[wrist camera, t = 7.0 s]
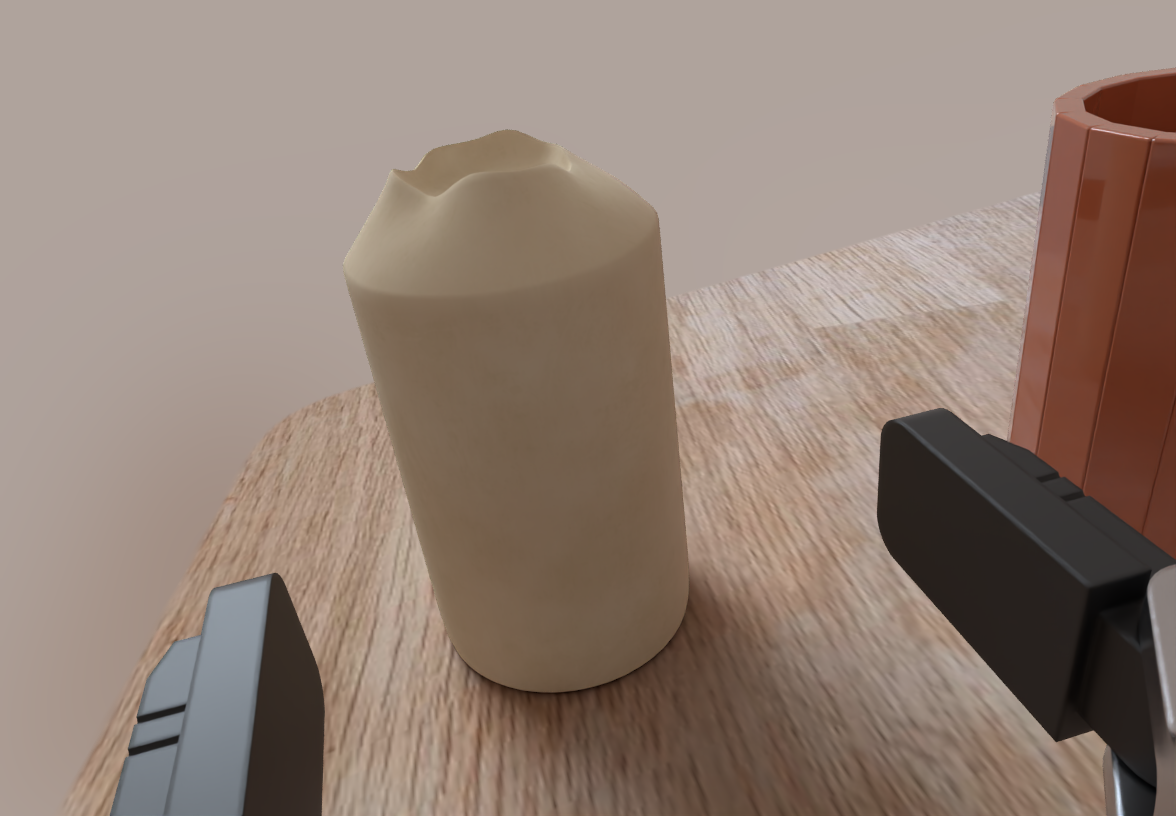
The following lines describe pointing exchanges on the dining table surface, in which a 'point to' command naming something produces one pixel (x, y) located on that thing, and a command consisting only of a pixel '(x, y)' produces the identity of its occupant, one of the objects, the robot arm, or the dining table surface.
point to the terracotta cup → (1106, 302)
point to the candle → (529, 405)
